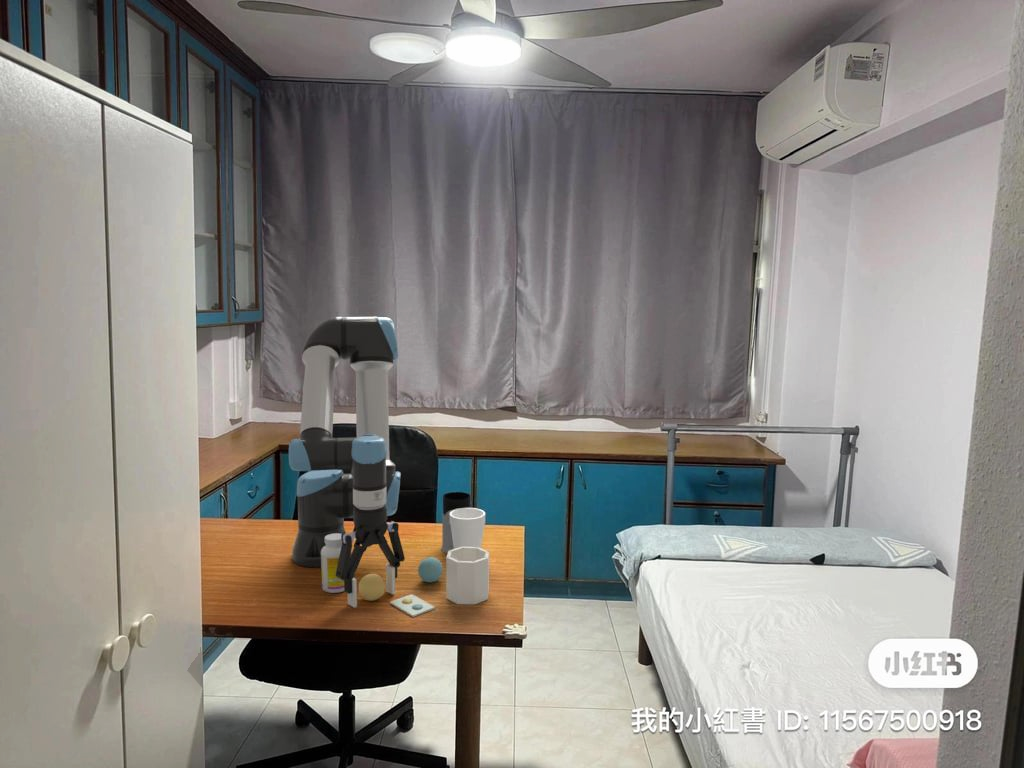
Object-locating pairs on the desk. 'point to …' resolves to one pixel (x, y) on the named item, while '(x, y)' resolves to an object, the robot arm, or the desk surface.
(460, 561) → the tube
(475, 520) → the foam cup
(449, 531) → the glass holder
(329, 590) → the supplement bottle
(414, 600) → the card
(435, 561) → the ball teal
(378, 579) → the ball ochre
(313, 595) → the desk surface
